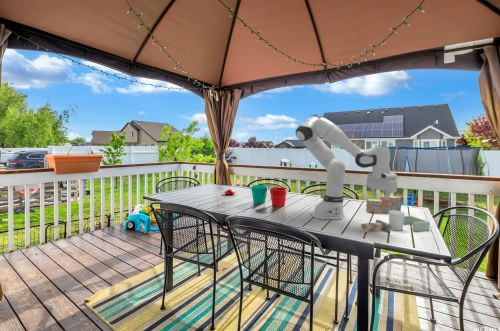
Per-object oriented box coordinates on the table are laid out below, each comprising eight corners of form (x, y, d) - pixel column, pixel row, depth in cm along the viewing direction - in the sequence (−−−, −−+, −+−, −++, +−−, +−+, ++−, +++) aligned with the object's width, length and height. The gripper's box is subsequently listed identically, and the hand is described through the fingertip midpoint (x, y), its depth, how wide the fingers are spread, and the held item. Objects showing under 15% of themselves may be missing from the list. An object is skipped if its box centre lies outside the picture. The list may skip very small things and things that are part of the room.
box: (413, 231, 138) (414, 223, 138) (396, 224, 151) (396, 216, 150) (429, 230, 141) (429, 221, 140) (410, 223, 153) (411, 215, 152)
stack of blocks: (369, 213, 175) (369, 196, 174) (366, 211, 181) (366, 194, 180) (400, 214, 172) (401, 197, 171) (396, 212, 179) (397, 195, 178)
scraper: (368, 234, 134) (368, 226, 134) (357, 228, 143) (358, 221, 143) (390, 232, 137) (390, 224, 137) (378, 227, 146) (378, 219, 146)
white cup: (385, 226, 147) (386, 210, 146) (397, 226, 148) (398, 210, 147) (393, 231, 139) (394, 214, 138) (406, 230, 140) (407, 213, 139)
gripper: (363, 172, 149) (363, 194, 150) (389, 176, 129) (388, 201, 130) (372, 171, 150) (372, 193, 151) (399, 175, 130) (398, 201, 131)
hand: (380, 197), depth 140 cm, fingers open, 8 cm apart
